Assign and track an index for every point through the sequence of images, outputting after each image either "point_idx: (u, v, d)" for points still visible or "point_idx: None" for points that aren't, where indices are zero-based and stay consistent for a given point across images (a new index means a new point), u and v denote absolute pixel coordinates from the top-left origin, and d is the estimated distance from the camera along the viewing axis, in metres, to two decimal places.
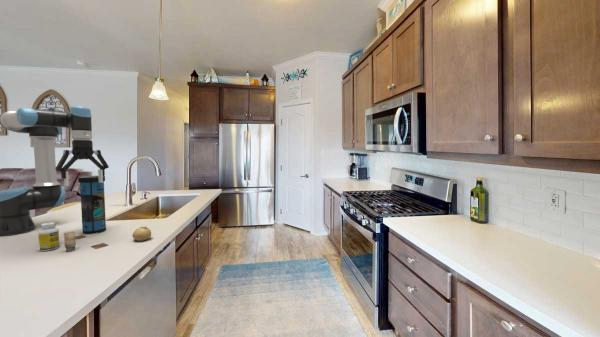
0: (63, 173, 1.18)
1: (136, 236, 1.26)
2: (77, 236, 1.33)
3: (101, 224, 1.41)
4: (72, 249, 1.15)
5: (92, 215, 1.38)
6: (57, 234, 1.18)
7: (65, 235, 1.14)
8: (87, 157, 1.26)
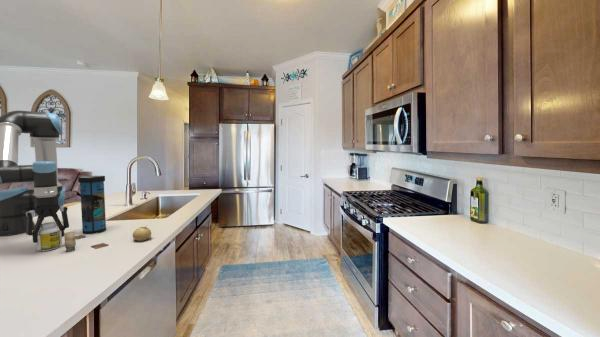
0: (35, 237, 1.13)
1: (136, 236, 1.26)
2: (77, 236, 1.33)
3: (101, 224, 1.41)
4: (72, 249, 1.15)
5: (92, 215, 1.38)
6: (57, 234, 1.18)
7: (65, 235, 1.14)
8: (52, 214, 1.17)
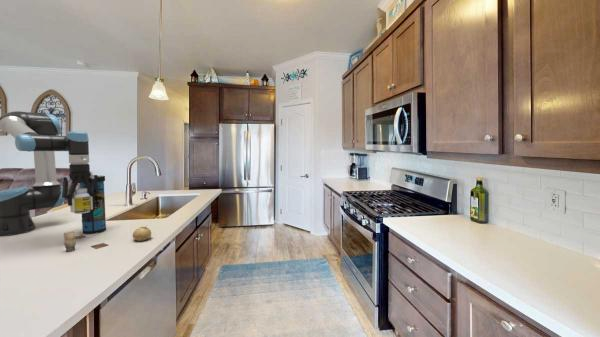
0: (69, 200, 1.23)
1: (136, 236, 1.26)
2: (77, 236, 1.33)
3: (101, 224, 1.41)
4: (72, 249, 1.15)
5: (92, 215, 1.38)
6: (89, 199, 1.29)
7: (65, 235, 1.14)
8: (84, 180, 1.28)
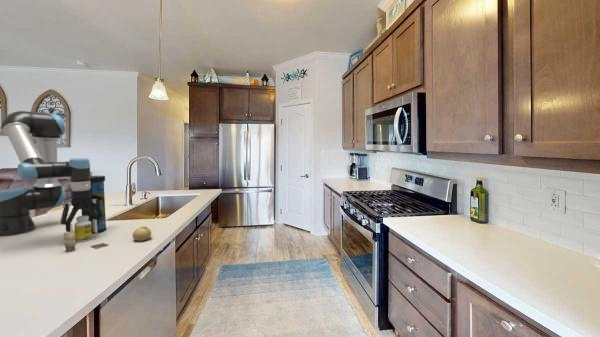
0: (68, 226, 1.23)
1: (136, 236, 1.26)
2: None
3: (101, 224, 1.41)
4: (72, 249, 1.15)
5: None
6: (90, 227, 1.30)
7: (65, 235, 1.14)
8: (86, 206, 1.29)
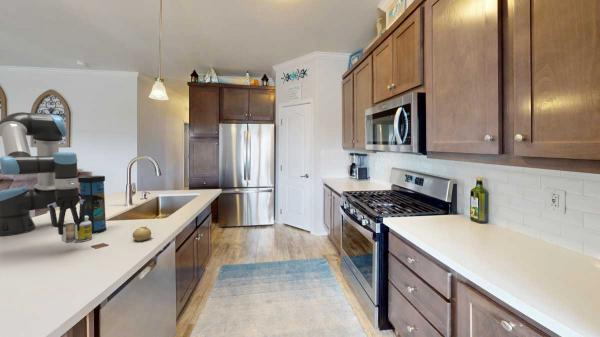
0: (60, 229, 1.13)
1: (136, 236, 1.26)
2: None
3: (101, 224, 1.41)
4: (71, 240, 1.16)
5: (92, 215, 1.38)
6: (90, 227, 1.30)
7: (64, 226, 1.14)
8: None
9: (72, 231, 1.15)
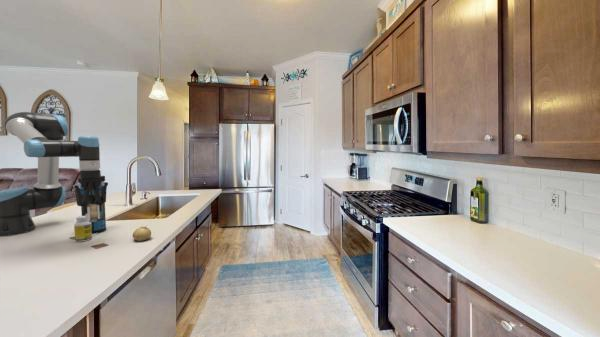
0: (85, 208, 1.20)
1: (136, 236, 1.26)
2: None
3: (101, 224, 1.41)
4: (94, 220, 1.23)
5: None
6: (90, 227, 1.30)
7: (88, 206, 1.21)
8: None
9: (95, 211, 1.23)
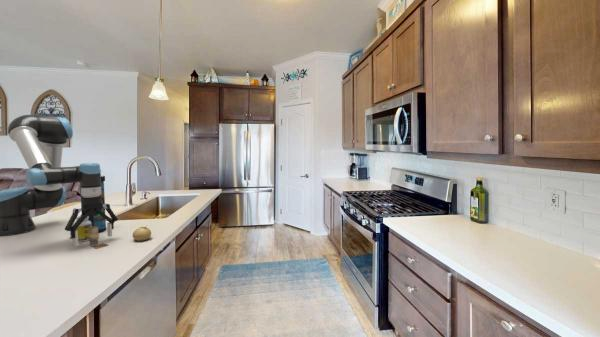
0: (72, 233, 1.16)
1: (136, 236, 1.26)
2: None
3: (101, 224, 1.41)
4: (95, 243, 1.23)
5: None
6: None
7: (89, 229, 1.22)
8: (96, 213, 1.24)
9: (96, 234, 1.23)
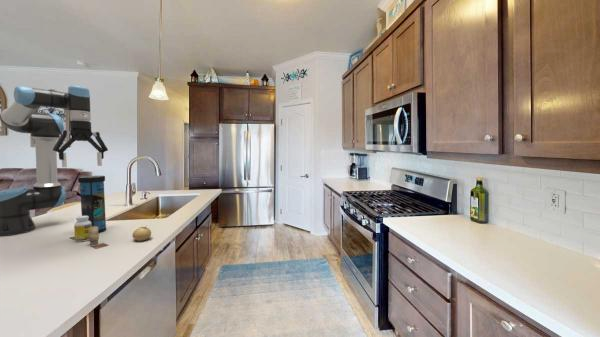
0: (61, 154, 1.15)
1: (136, 236, 1.26)
2: None
3: (101, 224, 1.41)
4: (95, 243, 1.23)
5: (92, 215, 1.38)
6: None
7: (89, 229, 1.22)
8: (85, 139, 1.22)
9: (96, 234, 1.23)
